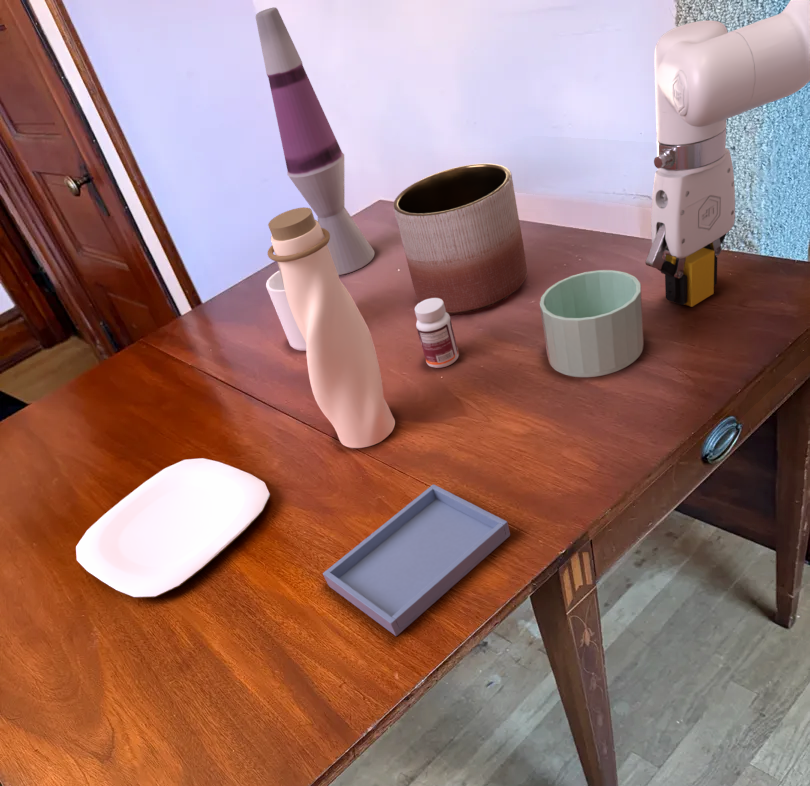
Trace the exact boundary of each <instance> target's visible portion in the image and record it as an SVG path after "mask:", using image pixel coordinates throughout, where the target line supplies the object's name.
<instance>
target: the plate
mask: <svg viewBox="0 0 810 786" xmlns="http://www.w3.org/2000/svg"><path fill="white" fill-rule="evenodd" d="M270 498H271V493H270V492H269V489H268V487H267V485H266V483H265V481H263V480H261V479H260V478H258V477H256V476H254V475H253V474H251V473H250V472H246V471H244V470H241V469H240V468H237V467H234V466H232V465H229V464H226V463H224V462H221V461H218V460H214V459H213V460H212V459H208V458H205V457H201V458H200V457H199V458H198V457H197V458H188V459H182V460H181V461H178V462H176V463H174V464H172V465H169V466H167V467H165V468H163V469H161V470H160V471H158V472H157V473H156V474H154V475H153V476H151V477H150V478H149V479H147V480H145V481H144V482H143V483H142V484H140V485H139V486H138V487H137V488H135V489H134V490H133V491H132V492H130V493H128V494H127V495H126V496H125V497H123V498H122V499H121V500H120V501H119V502H118V503H116V504H115V505H114V506H113V507H111V508H110V509H109V510H108V511H107V512H106V513H104V514H103V515H102V516H101V517H99V518H98V519H97V521H95V522H94V523H93V524H92V525H91V526H89V528H88V529H87V530H86V531H85V533H84V534H83V535H82V537H81V538H80V540H79V541H78V543H77V545H76V546H75V554H76V555H75V556H76V561H77V563H79V564H80V566H81V567H82V568H84V570H86V572H88V573H89V574H90V575H92V576H93V577H95V579H98V580H99V581H101V582H102V583H104V584H105V585H107V586H108V587H110V588H112V589H113V590H115V591H117V592H119V593H120V594H121V593H122V594H124V595H126V596H128V597H131V598H134V599H146V598H147V599H148V598H158V597H161V596H162V595H164V594H167V593H169V592H170V591H172V590H175V589H177V588H179V587H180V586H182V585H184V584H185V583H187V581H189V580H190V579H192V578H193V577H194V576H196V574H198V573H199V572H201V571H202V570H203V569H204V568H206V567H207V566H208V565H209V564H210V563H211V562H212V561H214V560H215V559H216V558H217V557H218V556H219V555H220V554H222V553H223V552H224V551H225V550H226V549H227V548H229V547H230V545H231V544H233V543H234V542H235V541H236V540H237V539H238V538H239V537H240V536H242V534H243V533H244V532H245V531H247V529H249V527H250V526H251V525H252V524H253V523H254V522H255V520H256V519H257V518H258V517H259V516H260V515H261V514H262V513H263V512H264V510H265V507H266V505H267V504H268V501H269V499H270Z"/></svg>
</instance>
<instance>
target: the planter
mask: <svg viewBox="0 0 810 786" xmlns="http://www.w3.org/2000/svg"><path fill="white" fill-rule="evenodd" d="M514 186H515V185H514V180H513V174H512V172H511V170H510V169H509V168H508V167H506V166H504V165H501V164H497V163H472V164H467V165H460V166H456V167H452V168H449V169H445V170H441V171H439V172H435V173H433V174H431V175H428V176H426V177H424V178H421V179H419V180H417V181H415V182H414V183H412V184H410V185H409V186H407V187H406V188H404V189H403V190H402V191H401V192H399V194H398V195H397V196H396V198H395V199H394V201H393V204H392V205H393V212H394V216H395V219H396V224H397V227H398V230H399V234H400V239H401V243H402V246H403V250H404V254H405V258H406V262H407V267H408V270H409V274H410V279H411V283H412V287H413V290H414V294H415V297H416V300H417V302H418V303H420V302H422V301H424V300H426V299H430V298H439V299H442V300H443V302H444V306H445V310H446V312H447V313H448V314H449V315H456V314H466V313H472V312H476V311H480V310H483V309H486V308H489V307H491V306H493V305H496V304H498V303H500V302H502V301H504V300H506V299H507V298H509V297H510V296H511V295H513V294H514V293H516V292H517V290H518V289H519V288H520V287H521V286H522V285H523V283H524V282H525V281H526V278H527V275H528V267H527V266H528V265H527V258H526V251H525V246H524V245H525V244H524V239H523V234H522V227H521V222H520V217H519V211H518V205H517V199H516V194H515V188H514Z"/></svg>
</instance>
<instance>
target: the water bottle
mask: <svg viewBox="0 0 810 786" xmlns="http://www.w3.org/2000/svg"><path fill="white" fill-rule="evenodd" d="M267 226H268V228H269V231H270V234H271V235H270V242H271V246H269V248H268V250H267V257H268V258H269V259H270V260H271V261H274V262H276V263H277V266H278V271H280V274H281V278H282V282H283V286H284V290H285V294H286V297H287V300H288V303H289V306H290V309H291V312H292V314H293V317H294V319H295V321H296V324H297V326H298V328H299V330H300V332H301V334H302V336H303V338H304V340H305V342H306V344H307V350H306V351H305V352H306V363H307V372H308V379H309V382H310V388H311V391H312V394H313V397H314V400H315V403H316V404H317V406H318V408H319V409H320V411H321V412H322V414H323V415H324V416H325V418H326V419H327V420H328V421H329V422H330V424H331V425H332V427H333V428H334V431H335V433H336V434H337V438H338V440H339V442H340V443H341V445H343V446H344V447H347V448H350V449H362V448H363V449H364V448H368V447H371V446H375V445H377V444H379V443H381V442H382V441H384V440H385V439H386V438H388V437H389V435H390V434H391V433H392V432H393V430H394V428H395V425H396V420H395V418H394V416H393V413H392V412H391V409H390V407H389V405H388V403H387V400H386V399H385V396H384V387H383V378H382V373H381V367H380V364H379V359H378V355H377V354H378V353H377V350H376V348H375V344H374V340H373V338H372V333H371V331H370V329H369V327H368V323H367V322H366V320H365V319H364V317H363V315H362V313H361V312H360V310H359V308H358V306H357V304H356V302H355V300H354V298H353V296H352V295H351V293H350V292H349V290H348V288H347V287H346V286H345V285H344V283H343V282H342V281H341V279H340V275H338V273H337V270H336V268H335V265H334V262H333V260H332V257H331V254H330V251H329V249H328V246H327V244H328V242H329V240H330V234H329V232H328V231H327V230H326V229H324V228H321V227H320V225H319V223H318V219H315V217H314V214H313V209H312V208H311V207H296V208H292V209H289V210H287V211H284V212H282V213H279V214H278V215H275V217H273V218H271V219H270V221H269V222H268V224H267ZM324 236H325V237H324Z"/></svg>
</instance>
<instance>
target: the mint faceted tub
mask: <svg viewBox="0 0 810 786" xmlns="http://www.w3.org/2000/svg"><path fill="white" fill-rule="evenodd" d="M642 299H643V298H642V284H641V282H640V280H638V277H636V276H635V275H632V274H630V273H628V272H626V271H622V270H621V271H620V270H615V269H612V270H611V269H598V270H590V271H584V272H580V273H576V274H573V275H570V276H567V277H566V278H564V279H561V280H559V281H557V282H555V283H554V284H553V285H551V286H550V287H549V288H547V289H546V290H545V292H544V293H543V294H542V295H541V297H540V300H539V310H540V317H541V324H542V329H543V337H544V344H545V349H546V350H545V352H546V356H547V360H548V363H549V366H550V367H552V369H553V370H554V371H556V372H558V373H560V374H562V375H565V376H568V377H573V378H574V377H575V378H596V377H601V376H606V375H611V374H614V373H616V372H619V371H621V370H623V369H625V368H628V367H629V366H630V365H632V364H633V363H635V362H636V361H637V359H638V358H639V357H640V356H641V354H642V353H643V350H644V325H643V324H644V322H643V301H642Z"/></svg>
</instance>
